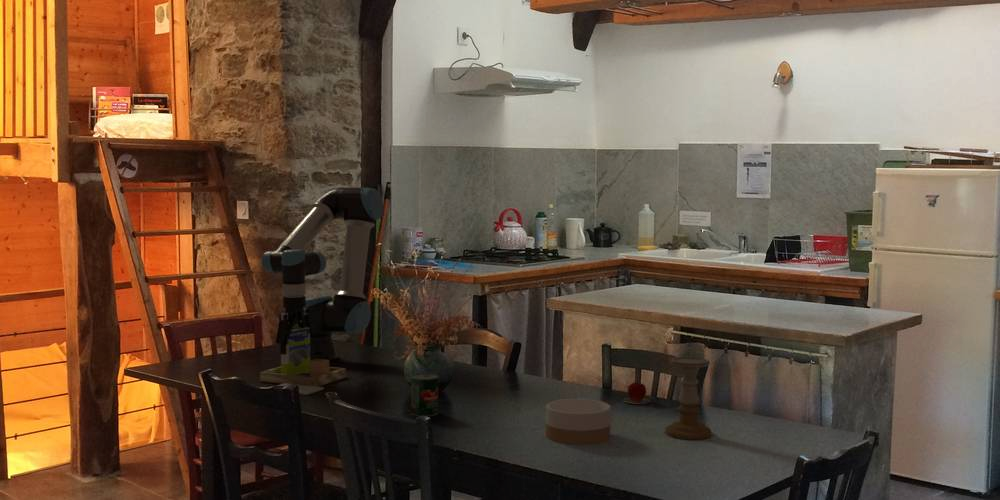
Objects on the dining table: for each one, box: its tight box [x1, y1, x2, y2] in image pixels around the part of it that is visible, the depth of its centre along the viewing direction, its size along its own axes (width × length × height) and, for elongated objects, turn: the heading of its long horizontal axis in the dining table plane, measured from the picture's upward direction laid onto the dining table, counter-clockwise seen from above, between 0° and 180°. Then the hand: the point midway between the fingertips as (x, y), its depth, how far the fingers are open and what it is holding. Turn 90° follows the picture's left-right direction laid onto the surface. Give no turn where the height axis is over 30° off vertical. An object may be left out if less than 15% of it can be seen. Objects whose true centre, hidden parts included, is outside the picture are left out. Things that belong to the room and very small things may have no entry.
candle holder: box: [664, 356, 712, 440], centre depth 276 cm, size 12×12×20 cm
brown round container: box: [545, 398, 612, 446], centre depth 274 cm, size 17×17×8 cm
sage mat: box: [277, 383, 324, 396], centre depth 330 cm, size 9×15×1 cm, turn 65°
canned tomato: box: [410, 373, 439, 417], centre depth 298 cm, size 8×8×11 cm
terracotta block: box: [309, 359, 330, 377], centre depth 343 cm, size 4×5×7 cm
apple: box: [623, 382, 650, 405], centre depth 314 cm, size 8×8×6 cm
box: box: [280, 323, 310, 376], centre depth 347 cm, size 10×4×17 cm, turn 142°
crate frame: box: [259, 366, 347, 387], centre depth 346 cm, size 18×22×3 cm
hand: (295, 360), depth 347 cm, fingers closed on box, 11 cm apart
